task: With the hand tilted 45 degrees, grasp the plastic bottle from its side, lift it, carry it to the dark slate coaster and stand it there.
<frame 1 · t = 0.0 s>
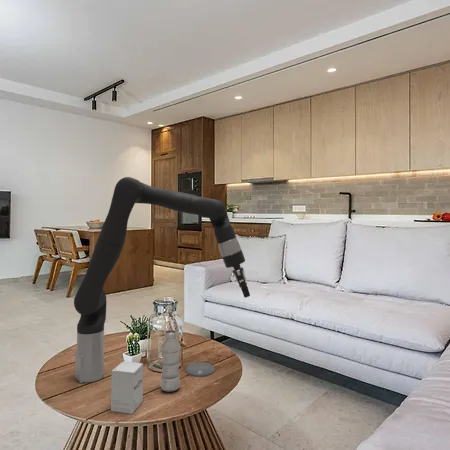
hand: (246, 294, 129), 31 cm above the table, tool tilted 20°, fingers open, 8 cm apart
coaster: (200, 370, 137), on the table
plastic bottle: (170, 390, 122), on the table
supplement box: (127, 407, 111), on the table
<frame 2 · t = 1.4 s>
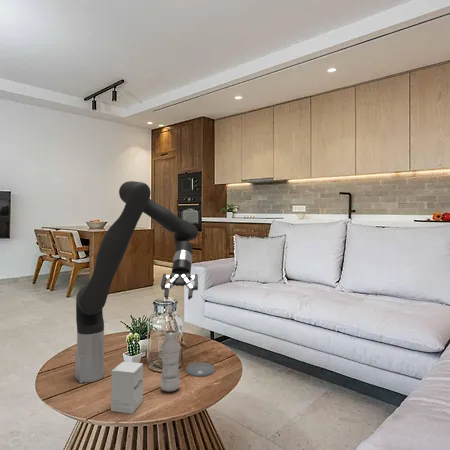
hand: (177, 298, 134), 28 cm above the table, tool tilted 45°, fingers open, 8 cm apart
nothing on the table moved.
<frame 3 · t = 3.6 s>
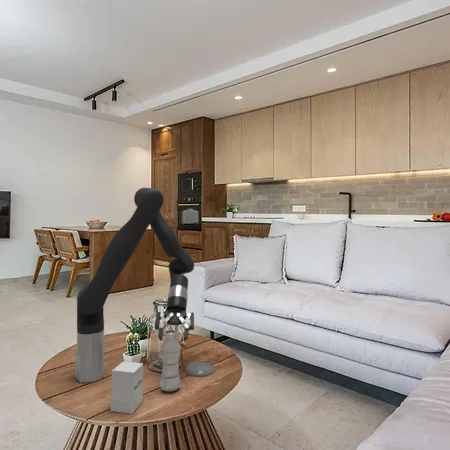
hand: (172, 339, 126), 15 cm above the table, tool tilted 45°, fingers open, 8 cm apart
nothing on the table moved.
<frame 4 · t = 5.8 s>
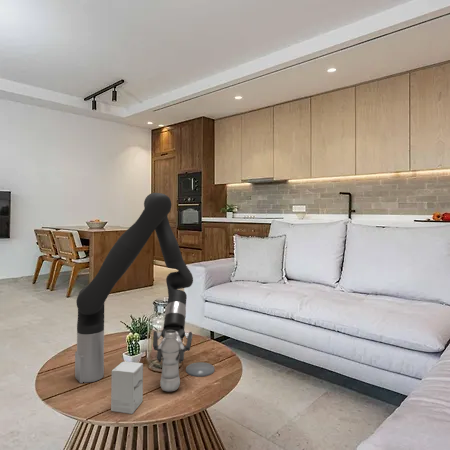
hand: (169, 361, 120), 10 cm above the table, tool tilted 45°, fingers closed on plastic bottle, 6 cm apart
plastic bottle: (170, 390, 122), on the table, touching gripper
everything else where it was.
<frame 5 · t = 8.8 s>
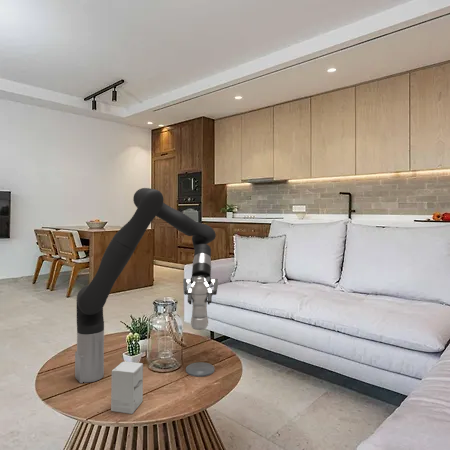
hand: (199, 303, 134), 27 cm above the table, tool tilted 45°, fingers closed on plastic bottle, 6 cm apart
plastic bottle: (199, 329, 136), point 16 cm above the table, touching gripper
everything else where it was.
when the fingers open (12 cm above the table, at t = 12.2 s): plastic bottle stays where it is, resting on coaster.
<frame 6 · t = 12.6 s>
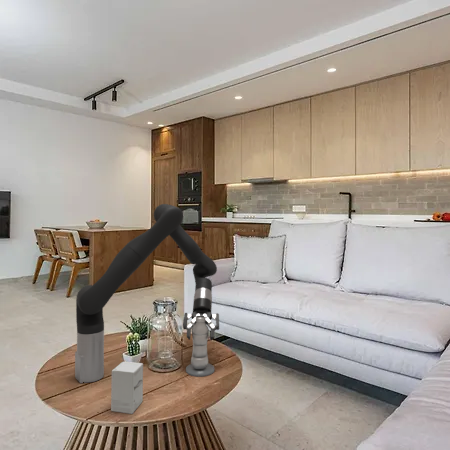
hand: (200, 338, 136), 13 cm above the table, tool tilted 45°, fingers open, 8 cm apart
plastic bottle: (199, 368, 137), point 1 cm above the table, touching coaster
everything else where it was.
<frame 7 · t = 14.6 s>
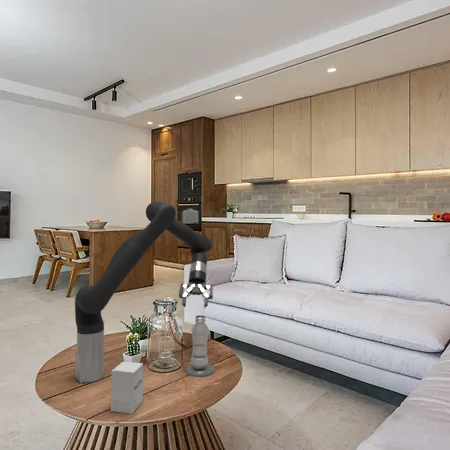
hand: (194, 306, 146), 22 cm above the table, tool tilted 45°, fingers open, 8 cm apart
nothing on the table moved.
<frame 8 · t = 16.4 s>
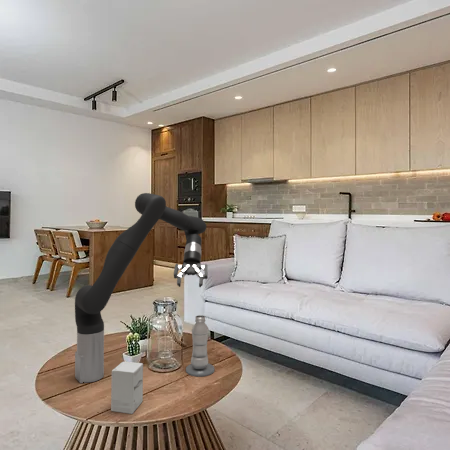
hand: (189, 286, 146), 31 cm above the table, tool tilted 45°, fingers open, 8 cm apart
nothing on the table moved.
at the end: plastic bottle 0.3 cm from the coaster (horizontally); plastic bottle tilted 0°; the gripper is holding nothing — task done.
